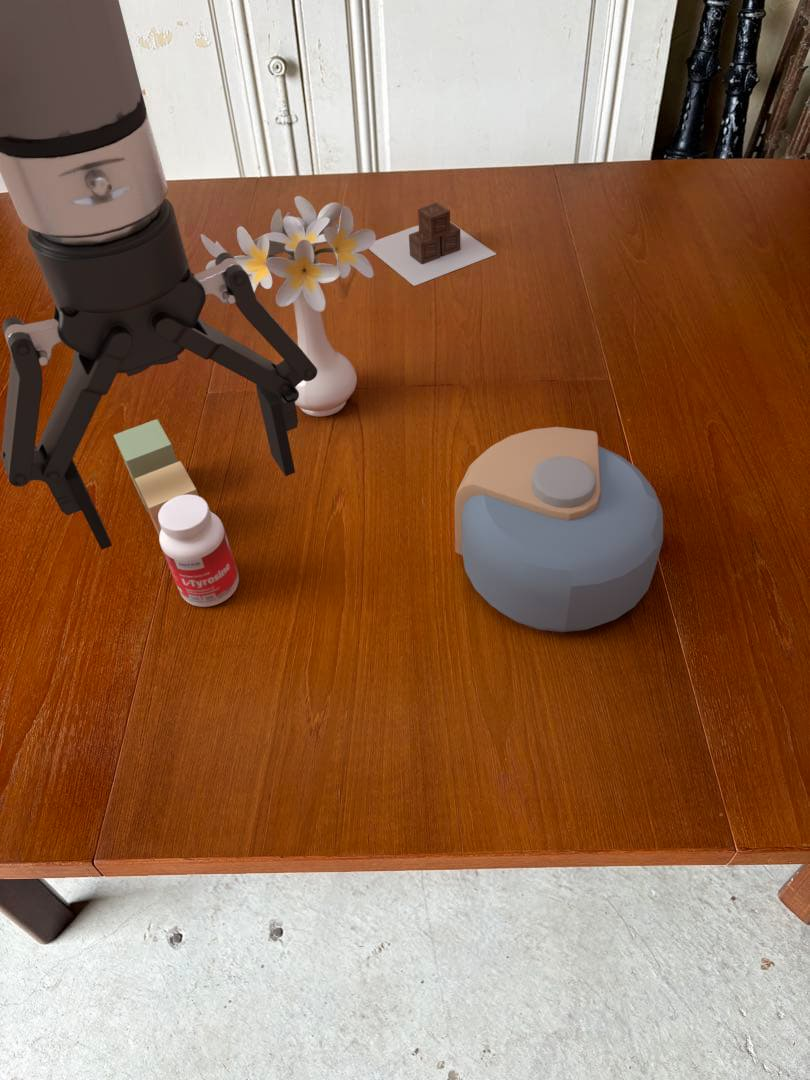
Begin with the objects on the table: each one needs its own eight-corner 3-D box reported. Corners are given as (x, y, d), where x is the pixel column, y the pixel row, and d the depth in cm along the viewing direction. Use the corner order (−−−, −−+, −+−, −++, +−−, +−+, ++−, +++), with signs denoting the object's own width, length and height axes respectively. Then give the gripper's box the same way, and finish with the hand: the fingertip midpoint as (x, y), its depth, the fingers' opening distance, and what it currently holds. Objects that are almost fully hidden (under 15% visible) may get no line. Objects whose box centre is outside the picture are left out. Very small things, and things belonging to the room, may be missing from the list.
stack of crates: (442, 216, 133) (441, 174, 128) (496, 254, 124) (498, 211, 119) (363, 245, 128) (359, 202, 123) (413, 286, 120) (411, 242, 114)
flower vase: (241, 386, 106) (192, 199, 87) (379, 362, 108) (361, 173, 89) (250, 452, 97) (198, 260, 79) (400, 423, 99) (385, 229, 80)
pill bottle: (187, 617, 81) (156, 544, 73) (174, 574, 85) (143, 501, 77) (247, 596, 83) (223, 522, 74) (231, 555, 87) (207, 480, 78)
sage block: (190, 496, 93) (171, 444, 87) (148, 513, 91) (126, 461, 85) (176, 471, 96) (157, 418, 90) (135, 487, 94) (113, 434, 88)
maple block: (214, 541, 88) (196, 489, 82) (170, 560, 87) (148, 508, 81) (199, 513, 91) (180, 460, 85) (156, 530, 90) (134, 478, 84)
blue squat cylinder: (574, 469, 92) (585, 383, 83) (692, 591, 80) (721, 506, 71) (425, 532, 87) (420, 448, 78) (527, 672, 75) (536, 591, 66)
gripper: (-157, 321, 36) (30, 606, 52) (346, 176, 43) (374, 465, 59) (-167, 248, 41) (7, 532, 57) (290, 128, 48) (330, 409, 64)
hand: (195, 498), depth 58 cm, fingers open, 13 cm apart
